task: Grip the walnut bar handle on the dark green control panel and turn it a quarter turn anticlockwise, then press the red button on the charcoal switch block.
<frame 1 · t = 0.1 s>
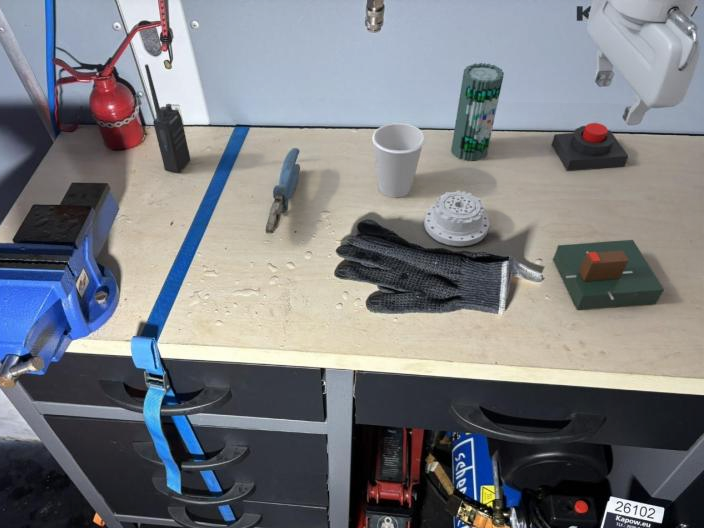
hand: (615, 102, 78), 22 cm above the table, tool pointing down, fingers open, 8 cm apart
dixie cup: (394, 188, 103), on the table
handle: (603, 265, 82), point 5 cm above the table, hinge at 0.0°
panel: (602, 281, 87), on the table
pliers: (284, 207, 101), on the table
can: (468, 151, 109), on the table
walkie-talkie: (178, 166, 111), on the table
mechanical component: (455, 227, 96), on the table
switch block: (586, 155, 107), on the table
button: (594, 133, 103), point 5 cm above the table, slide at 0.2 cm
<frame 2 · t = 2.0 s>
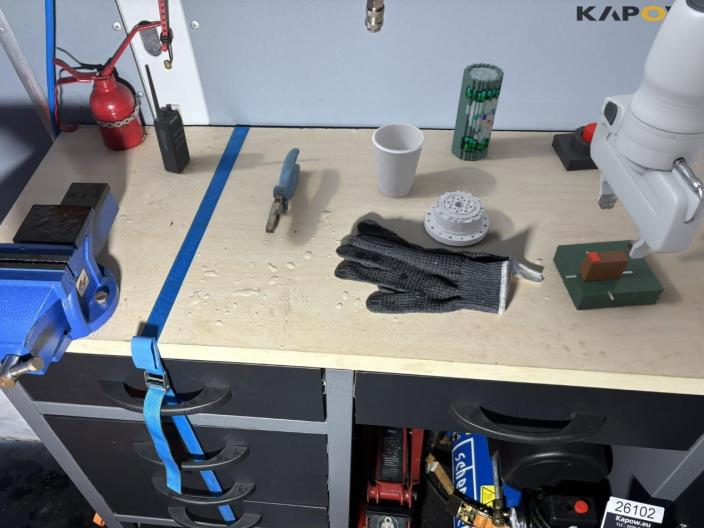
hand: (618, 229, 77), 11 cm above the table, tool pointing down, fingers open, 8 cm apart
nothing on the table moved.
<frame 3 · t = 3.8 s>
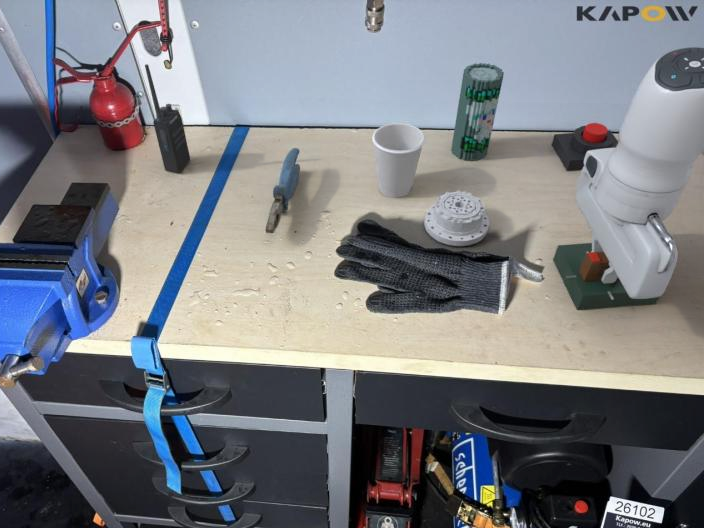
hand: (601, 270, 83), 4 cm above the table, tool pointing down, fingers closed on handle, 2 cm apart
handle: (603, 265, 82), point 5 cm above the table, hinge at 0.0°, touching gripper
everything else where it was.
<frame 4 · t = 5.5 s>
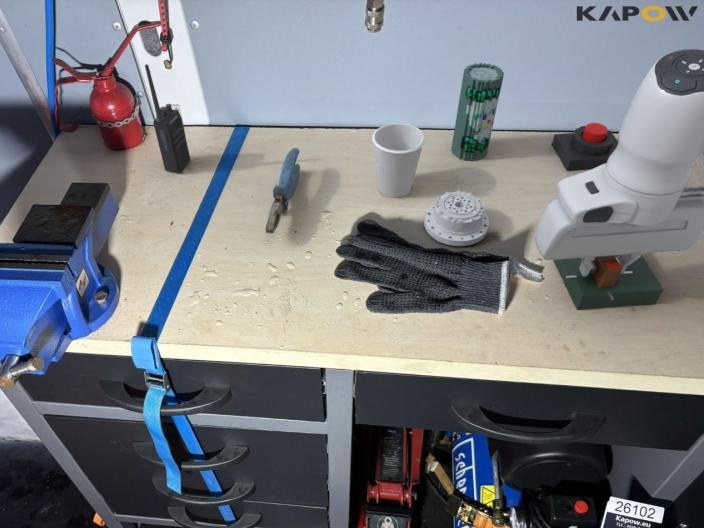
hand: (600, 272, 83), 4 cm above the table, tool pointing down, fingers open, 3 cm apart
handle: (603, 265, 82), point 5 cm above the table, hinge at 89.8°
everything else where it was.
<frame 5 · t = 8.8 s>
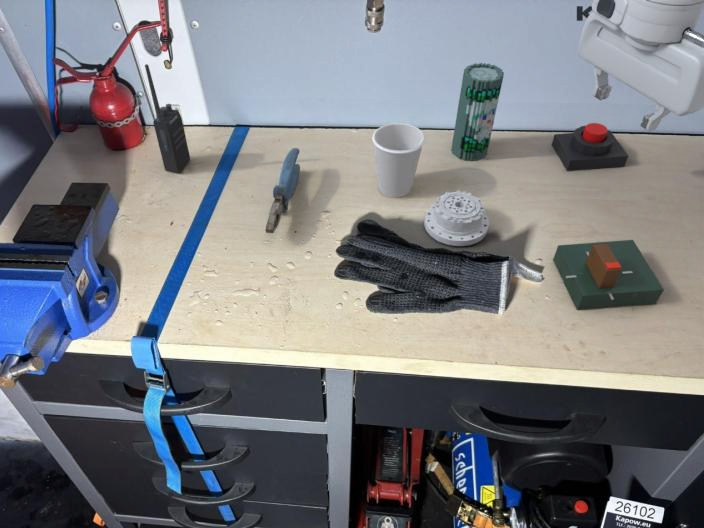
hand: (623, 112, 87), 16 cm above the table, tool pointing down, fingers open, 8 cm apart
nothing on the table moved.
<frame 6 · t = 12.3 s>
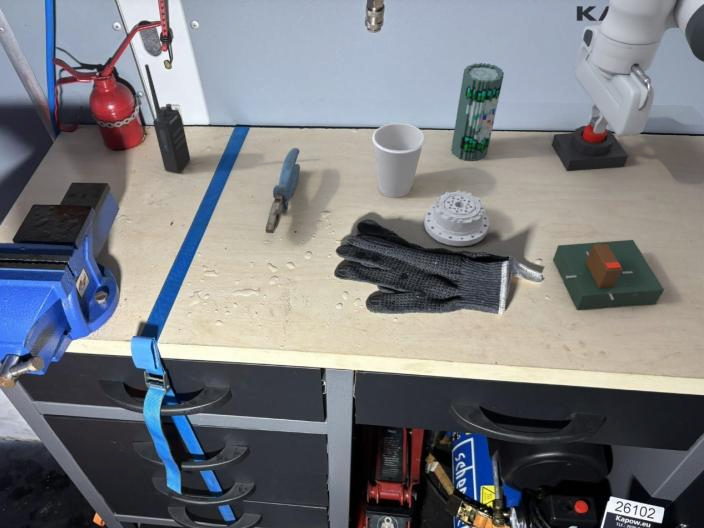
hand: (595, 129, 103), 5 cm above the table, tool pointing down, fingers closed, pressing on button
button: (594, 134, 104), point 4 cm above the table, slide at 0.0 cm, touching gripper
everything else where it was.
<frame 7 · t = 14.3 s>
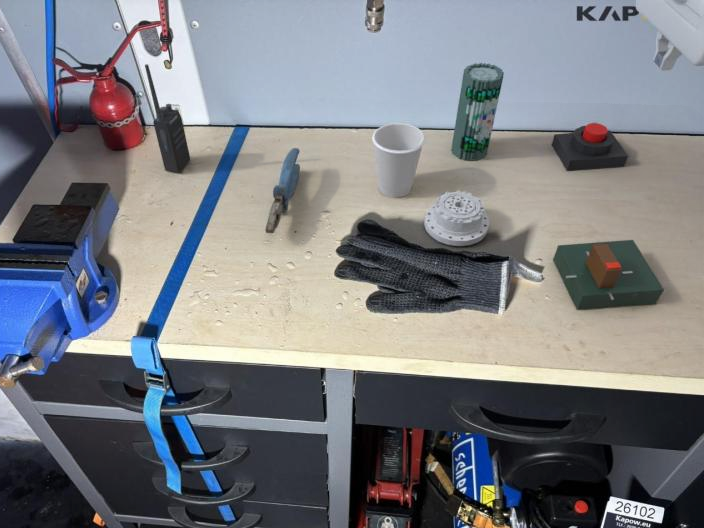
hand: (662, 65, 91), 18 cm above the table, tool pointing down, fingers closed
button: (594, 133, 103), point 5 cm above the table, slide at 0.1 cm
everything else where it was.
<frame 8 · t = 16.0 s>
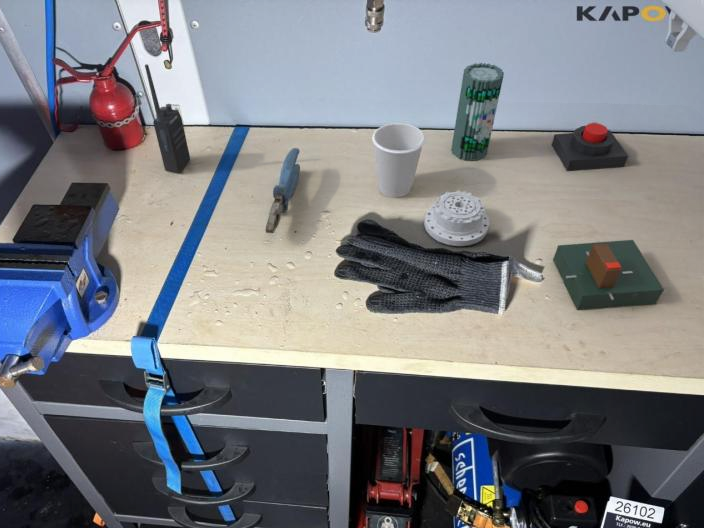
hand: (674, 47, 88), 21 cm above the table, tool pointing down, fingers closed
nothing on the table moved.
at the end: handle at +90° (first picture: +0°); button pushed in 1.0 cm at the most during the clip, back to where it started at the end; button slide at 0.1 cm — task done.
